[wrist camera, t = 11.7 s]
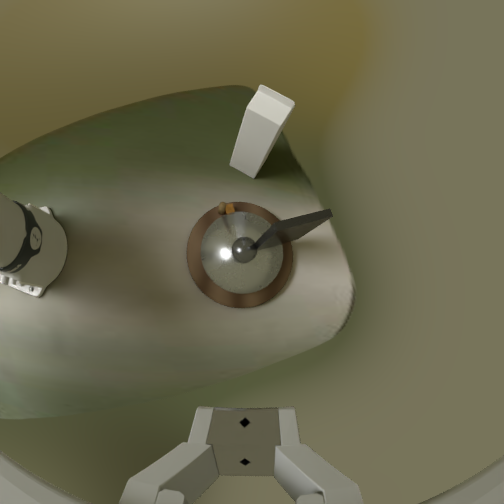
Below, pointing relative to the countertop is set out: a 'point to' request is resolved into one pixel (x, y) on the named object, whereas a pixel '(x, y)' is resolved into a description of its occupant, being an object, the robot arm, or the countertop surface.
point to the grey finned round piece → (250, 248)
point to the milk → (260, 130)
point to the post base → (208, 285)
